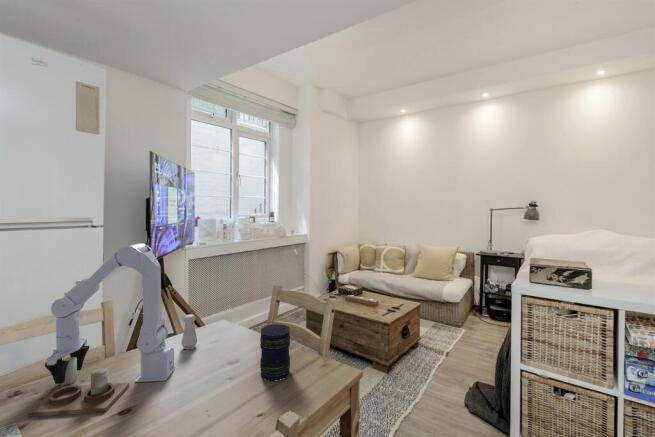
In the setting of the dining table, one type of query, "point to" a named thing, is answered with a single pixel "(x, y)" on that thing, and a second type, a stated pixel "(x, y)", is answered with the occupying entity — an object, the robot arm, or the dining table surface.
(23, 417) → the dining table surface
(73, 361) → the loose peg
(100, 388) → the peg stand
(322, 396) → the dining table surface
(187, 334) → the salt shaker
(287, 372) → the storage jar
